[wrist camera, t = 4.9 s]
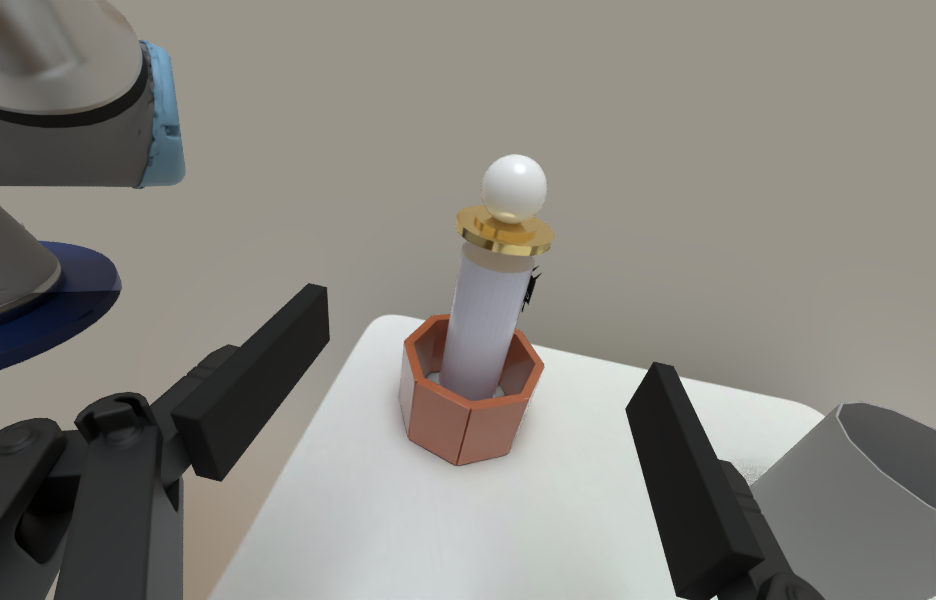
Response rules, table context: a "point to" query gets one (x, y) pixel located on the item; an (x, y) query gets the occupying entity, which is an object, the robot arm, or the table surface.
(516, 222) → the perfume bottle
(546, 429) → the table surface
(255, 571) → the table surface
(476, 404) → the holder
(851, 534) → the cup
